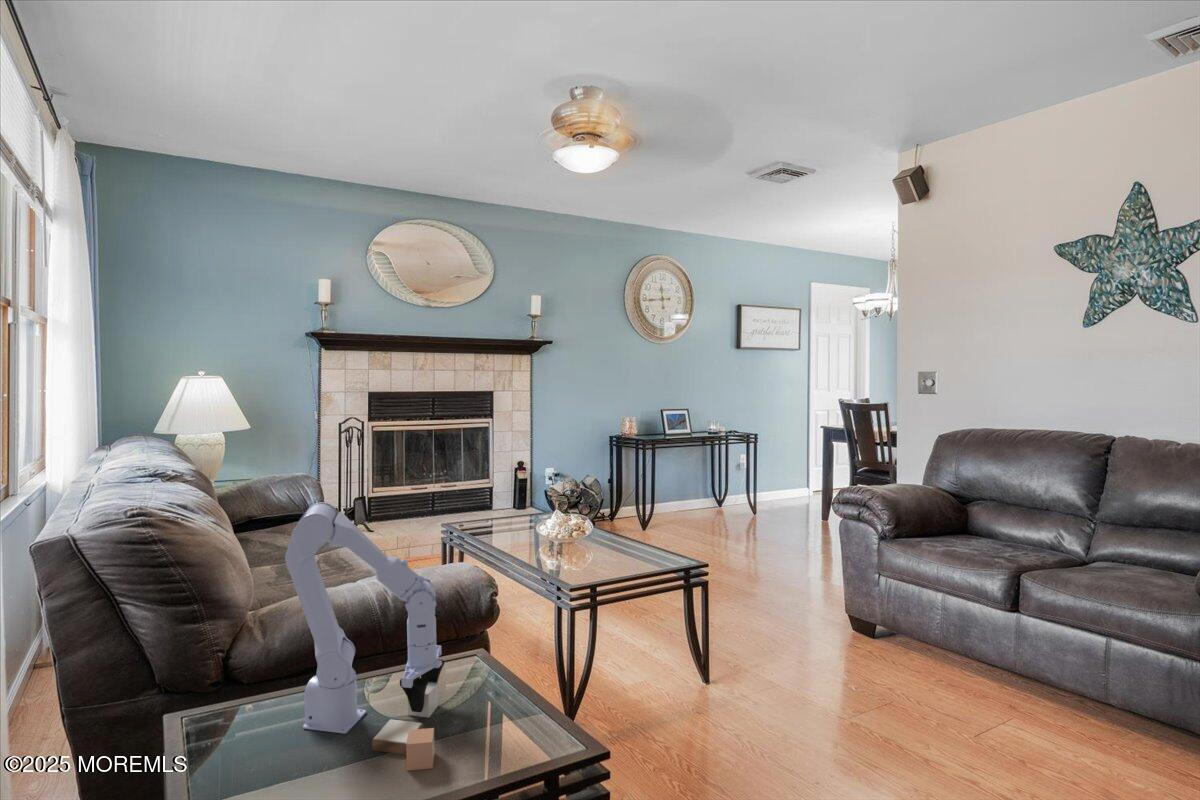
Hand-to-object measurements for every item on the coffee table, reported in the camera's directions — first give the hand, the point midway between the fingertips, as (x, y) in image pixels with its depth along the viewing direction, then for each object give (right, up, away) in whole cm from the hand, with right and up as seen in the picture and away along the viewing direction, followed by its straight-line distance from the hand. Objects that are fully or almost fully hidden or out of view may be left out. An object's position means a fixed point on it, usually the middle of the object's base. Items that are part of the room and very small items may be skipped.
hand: (423, 703), depth 145 cm
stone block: (0, -2, 0) cm, 2 cm away
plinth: (-2, -3, -11) cm, 11 cm away
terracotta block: (+4, -3, -17) cm, 18 cm away
